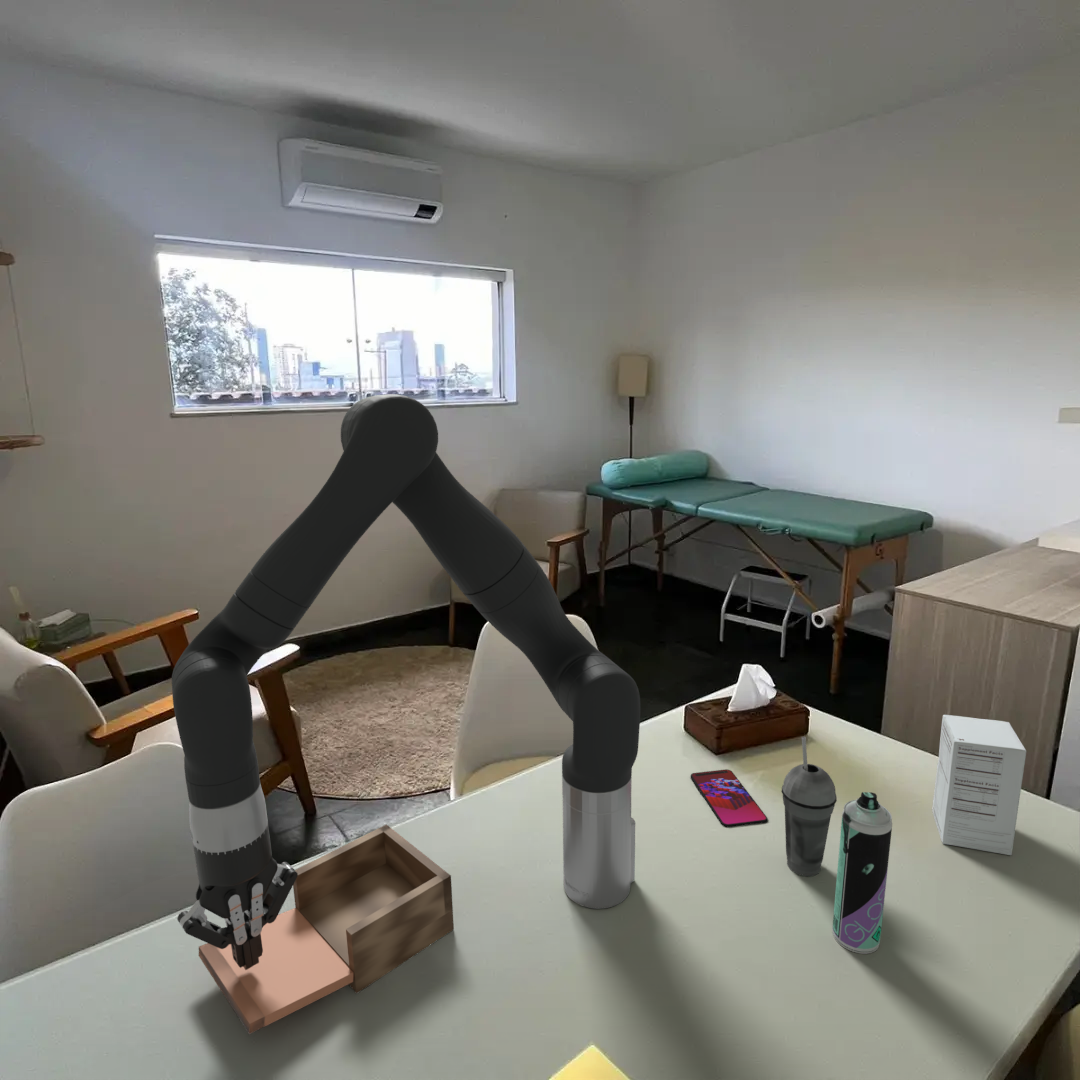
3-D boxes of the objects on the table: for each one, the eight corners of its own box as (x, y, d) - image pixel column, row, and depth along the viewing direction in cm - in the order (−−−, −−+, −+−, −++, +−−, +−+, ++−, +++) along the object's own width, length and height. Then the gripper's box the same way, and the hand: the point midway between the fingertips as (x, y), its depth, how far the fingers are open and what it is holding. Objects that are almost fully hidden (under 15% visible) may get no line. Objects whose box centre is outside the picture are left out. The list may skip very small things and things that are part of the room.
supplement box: (1013, 857, 106) (1029, 751, 102) (941, 845, 108) (954, 741, 105) (996, 819, 114) (1010, 720, 110) (930, 808, 117) (941, 712, 113)
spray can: (858, 960, 88) (873, 812, 83) (822, 930, 93) (834, 789, 88) (889, 943, 90) (905, 799, 86) (852, 915, 95) (865, 777, 90)
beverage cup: (835, 886, 100) (846, 754, 96) (779, 879, 102) (788, 749, 97) (826, 852, 107) (836, 727, 103) (774, 846, 109) (781, 723, 104)
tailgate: (295, 907, 94) (198, 946, 86) (353, 972, 84) (249, 1023, 76) (295, 916, 95) (198, 955, 86) (353, 981, 84) (249, 1034, 76)
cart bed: (390, 873, 105) (386, 824, 103) (453, 929, 94) (450, 875, 92) (297, 925, 95) (291, 871, 93) (356, 993, 85) (351, 934, 83)
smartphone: (723, 825, 113) (688, 773, 128) (722, 830, 114) (688, 777, 128) (770, 819, 115) (730, 768, 129) (769, 824, 115) (730, 773, 129)
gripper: (177, 873, 72) (201, 1019, 76) (304, 815, 80) (319, 948, 84) (153, 840, 77) (176, 977, 81) (274, 788, 86) (290, 915, 90)
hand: (249, 962), depth 83 cm, fingers closed
